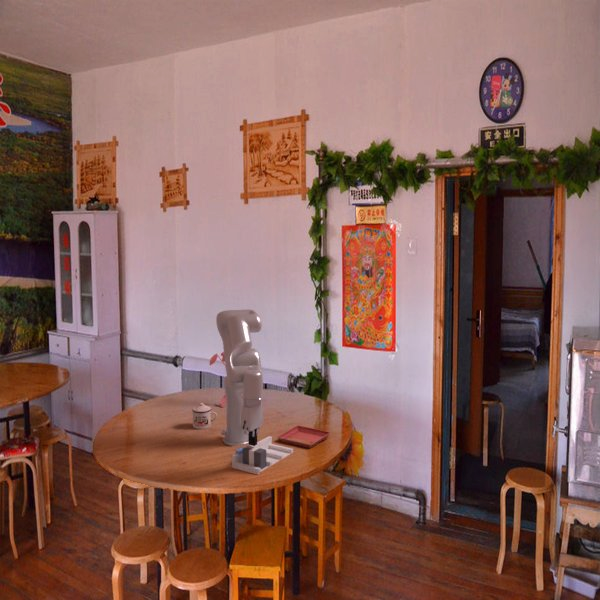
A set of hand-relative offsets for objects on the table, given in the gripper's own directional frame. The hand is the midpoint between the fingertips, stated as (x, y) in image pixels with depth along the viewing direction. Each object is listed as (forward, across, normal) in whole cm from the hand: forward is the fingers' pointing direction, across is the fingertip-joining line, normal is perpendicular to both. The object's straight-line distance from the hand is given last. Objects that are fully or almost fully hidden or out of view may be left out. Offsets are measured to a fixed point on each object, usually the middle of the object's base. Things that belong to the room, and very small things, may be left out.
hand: (252, 444), depth 241 cm
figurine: (+12, -57, -54) cm, 79 cm away
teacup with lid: (+11, -27, -48) cm, 56 cm away
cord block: (+9, +1, +1) cm, 9 cm away
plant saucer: (+10, -36, +3) cm, 37 cm away
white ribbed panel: (+9, -8, 0) cm, 12 cm away
